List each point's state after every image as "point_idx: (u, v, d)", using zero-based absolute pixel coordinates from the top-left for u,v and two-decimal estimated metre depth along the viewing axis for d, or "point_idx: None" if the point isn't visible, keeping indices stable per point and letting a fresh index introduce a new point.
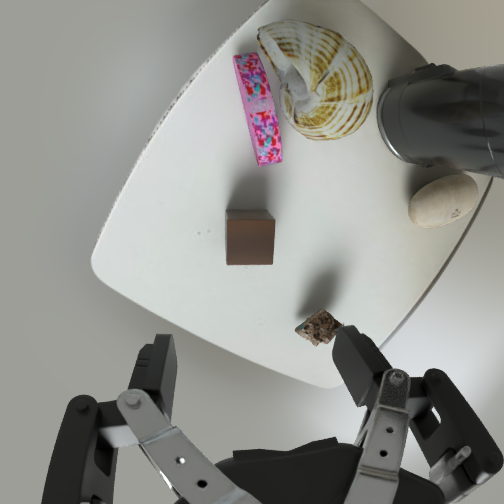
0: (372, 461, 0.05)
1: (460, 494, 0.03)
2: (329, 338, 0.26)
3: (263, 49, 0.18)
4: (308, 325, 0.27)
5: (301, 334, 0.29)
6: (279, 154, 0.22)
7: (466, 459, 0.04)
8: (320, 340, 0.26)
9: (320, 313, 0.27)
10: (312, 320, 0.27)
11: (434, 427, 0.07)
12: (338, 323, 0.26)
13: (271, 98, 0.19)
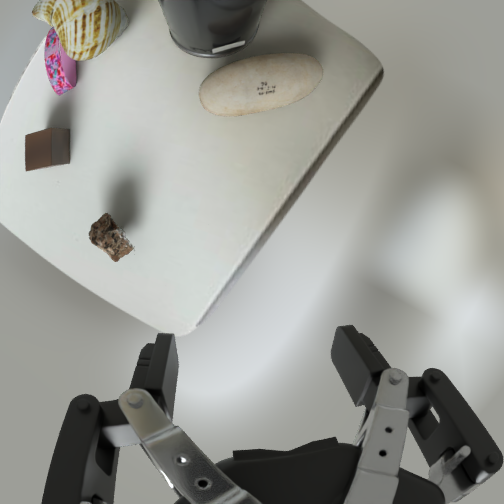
0: (371, 461, 0.05)
1: (459, 493, 0.03)
2: (102, 241, 0.22)
3: None
4: (91, 229, 0.23)
5: None
6: (65, 80, 0.19)
7: (466, 459, 0.04)
8: (96, 243, 0.23)
9: None
10: (93, 224, 0.23)
11: (433, 427, 0.07)
12: (115, 226, 0.23)
13: (58, 43, 0.16)
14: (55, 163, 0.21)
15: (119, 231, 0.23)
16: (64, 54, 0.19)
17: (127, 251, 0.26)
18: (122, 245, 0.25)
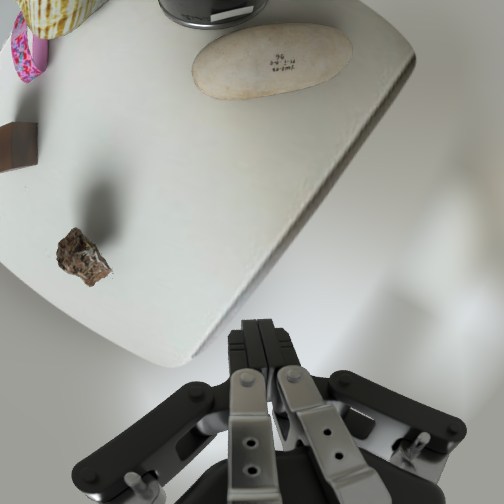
0: (335, 468, 0.05)
1: (441, 469, 0.05)
2: (69, 265, 0.16)
3: None
4: (58, 248, 0.17)
5: None
6: (32, 64, 0.12)
7: (426, 441, 0.06)
8: (62, 267, 0.17)
9: None
10: (61, 241, 0.17)
11: (362, 422, 0.09)
12: (85, 246, 0.17)
13: (26, 23, 0.09)
14: (17, 165, 0.15)
15: (89, 252, 0.17)
16: (36, 36, 0.13)
17: (104, 274, 0.20)
18: (96, 268, 0.18)
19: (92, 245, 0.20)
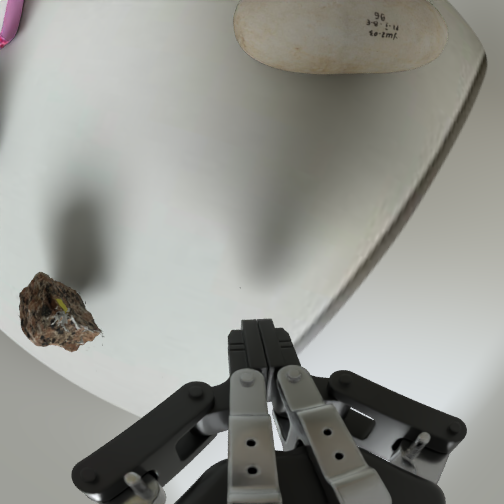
0: (335, 468, 0.05)
1: (441, 469, 0.05)
2: (34, 334, 0.09)
3: None
4: None
5: None
6: None
7: (426, 441, 0.06)
8: (27, 335, 0.09)
9: (33, 279, 0.10)
10: (22, 291, 0.10)
11: (362, 422, 0.09)
12: (55, 306, 0.10)
13: None
14: None
15: (61, 319, 0.09)
16: (11, 2, 0.05)
17: (90, 337, 0.13)
18: (76, 335, 0.11)
19: (70, 294, 0.12)
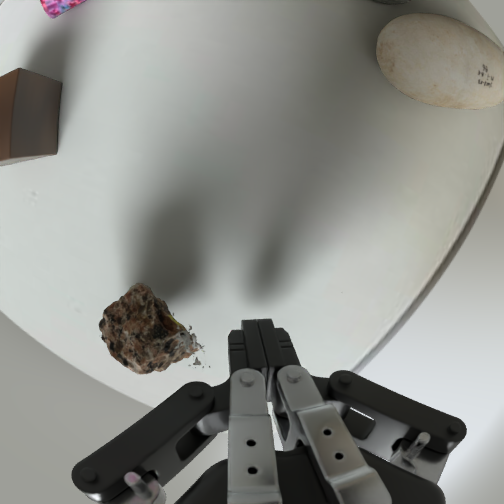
0: (335, 468, 0.05)
1: (441, 469, 0.05)
2: (140, 361, 0.09)
3: None
4: (104, 319, 0.10)
5: None
6: None
7: (426, 441, 0.06)
8: (123, 362, 0.09)
9: (128, 292, 0.10)
10: (110, 308, 0.10)
11: (362, 422, 0.09)
12: (171, 325, 0.10)
13: None
14: (21, 153, 0.07)
15: (186, 340, 0.09)
16: None
17: (187, 354, 0.12)
18: (184, 355, 0.11)
19: (163, 306, 0.12)
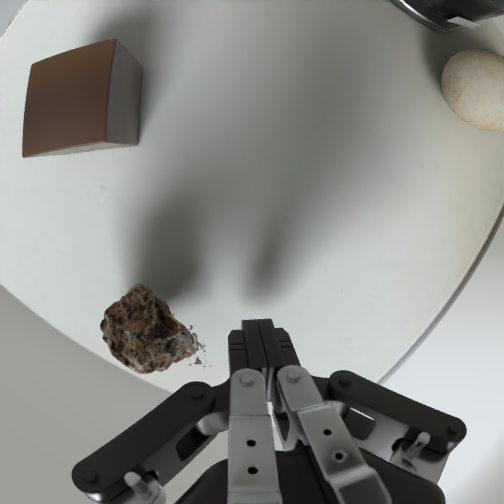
0: (335, 468, 0.05)
1: (441, 469, 0.05)
2: (141, 361, 0.09)
3: None
4: (105, 319, 0.10)
5: None
6: None
7: (426, 441, 0.06)
8: (124, 362, 0.09)
9: (129, 292, 0.10)
10: (111, 308, 0.10)
11: (362, 422, 0.09)
12: (172, 324, 0.10)
13: None
14: (114, 138, 0.08)
15: (186, 340, 0.09)
16: None
17: (189, 353, 0.13)
18: (185, 354, 0.11)
19: (164, 306, 0.12)
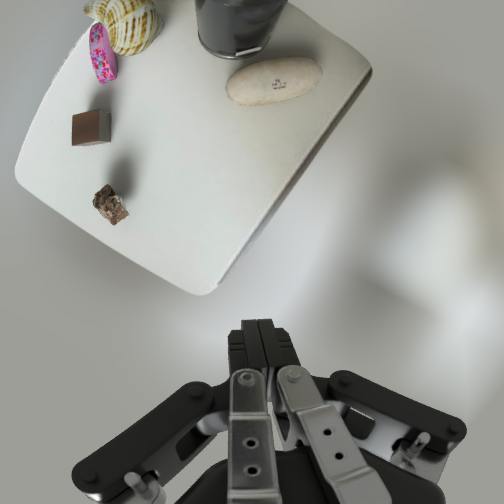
0: (335, 468, 0.05)
1: (441, 469, 0.05)
2: (103, 204, 0.28)
3: None
4: (94, 197, 0.29)
5: (101, 213, 0.31)
6: (109, 71, 0.24)
7: (426, 441, 0.06)
8: (98, 207, 0.28)
9: (103, 187, 0.29)
10: (97, 193, 0.29)
11: (362, 422, 0.09)
12: (114, 193, 0.28)
13: (102, 40, 0.22)
14: (101, 139, 0.27)
15: (117, 196, 0.28)
16: None
17: (123, 216, 0.31)
18: (119, 209, 0.30)
19: None
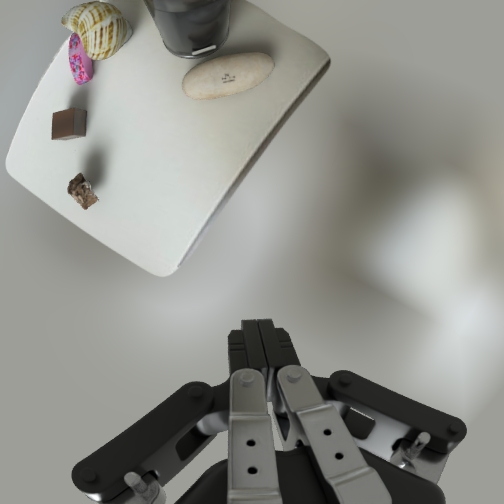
0: (335, 468, 0.05)
1: (441, 469, 0.05)
2: (74, 190, 0.29)
3: None
4: (69, 185, 0.30)
5: (75, 199, 0.33)
6: (85, 74, 0.26)
7: (426, 441, 0.06)
8: (70, 193, 0.30)
9: None
10: (71, 180, 0.30)
11: (362, 422, 0.09)
12: (84, 180, 0.30)
13: (79, 46, 0.23)
14: (75, 134, 0.29)
15: (86, 183, 0.30)
16: (82, 54, 0.27)
17: (93, 201, 0.33)
18: (89, 195, 0.31)
19: (88, 185, 0.33)
